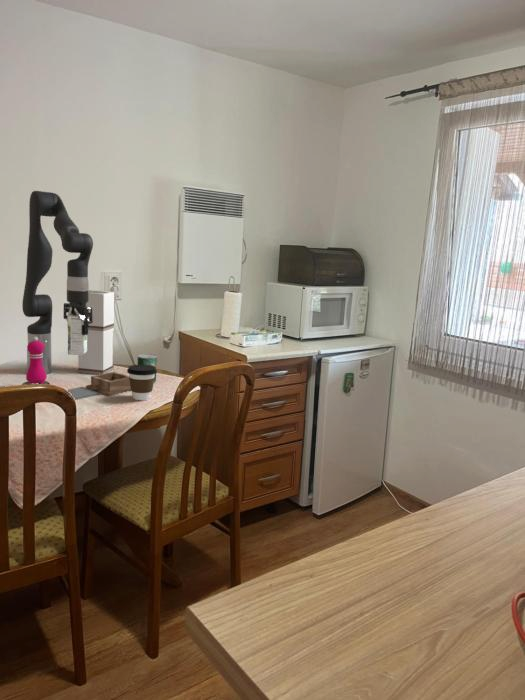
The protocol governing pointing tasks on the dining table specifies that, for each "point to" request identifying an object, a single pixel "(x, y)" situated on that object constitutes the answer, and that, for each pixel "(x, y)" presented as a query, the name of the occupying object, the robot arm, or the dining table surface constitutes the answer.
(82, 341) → the syrup box
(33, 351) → the pepper mill
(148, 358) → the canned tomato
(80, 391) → the mat
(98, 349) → the banded white pillar
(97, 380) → the wooden tray
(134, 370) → the coffee cup
